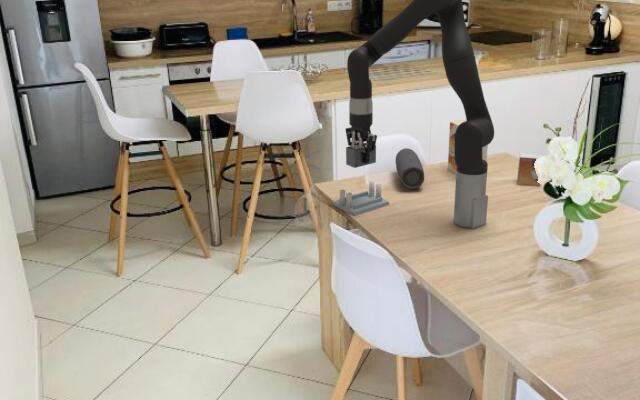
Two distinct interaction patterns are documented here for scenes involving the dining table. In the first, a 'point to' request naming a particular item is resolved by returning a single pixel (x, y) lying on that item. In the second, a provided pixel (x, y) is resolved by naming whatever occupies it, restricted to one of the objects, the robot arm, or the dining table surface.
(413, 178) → the bluetooth speaker
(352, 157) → the block
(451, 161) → the coffeecake box
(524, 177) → the small box
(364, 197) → the pin tray
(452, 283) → the dining table surface
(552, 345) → the dining table surface
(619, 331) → the dining table surface
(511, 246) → the dining table surface
